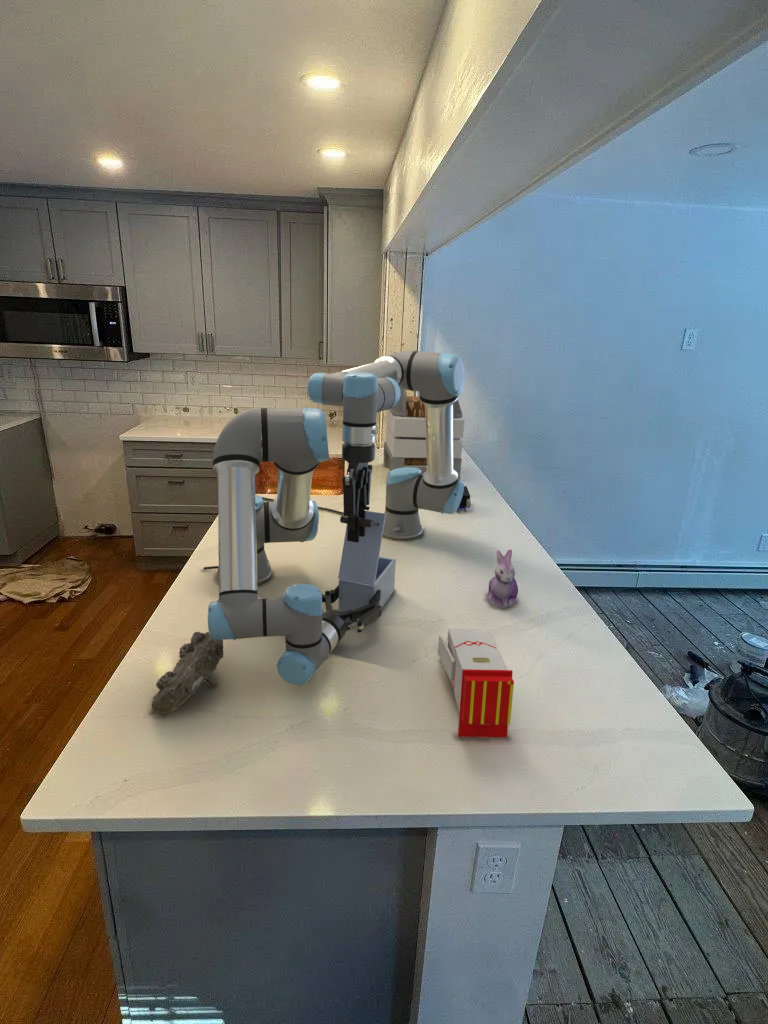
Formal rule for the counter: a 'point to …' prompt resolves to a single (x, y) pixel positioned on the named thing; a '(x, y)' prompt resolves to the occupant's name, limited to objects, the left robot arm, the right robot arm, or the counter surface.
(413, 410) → the light grey slatted box
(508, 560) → the figurine
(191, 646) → the fossil
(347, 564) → the door
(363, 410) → the right robot arm
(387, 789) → the counter surface
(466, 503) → the figurine character
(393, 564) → the chest
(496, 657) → the toy
